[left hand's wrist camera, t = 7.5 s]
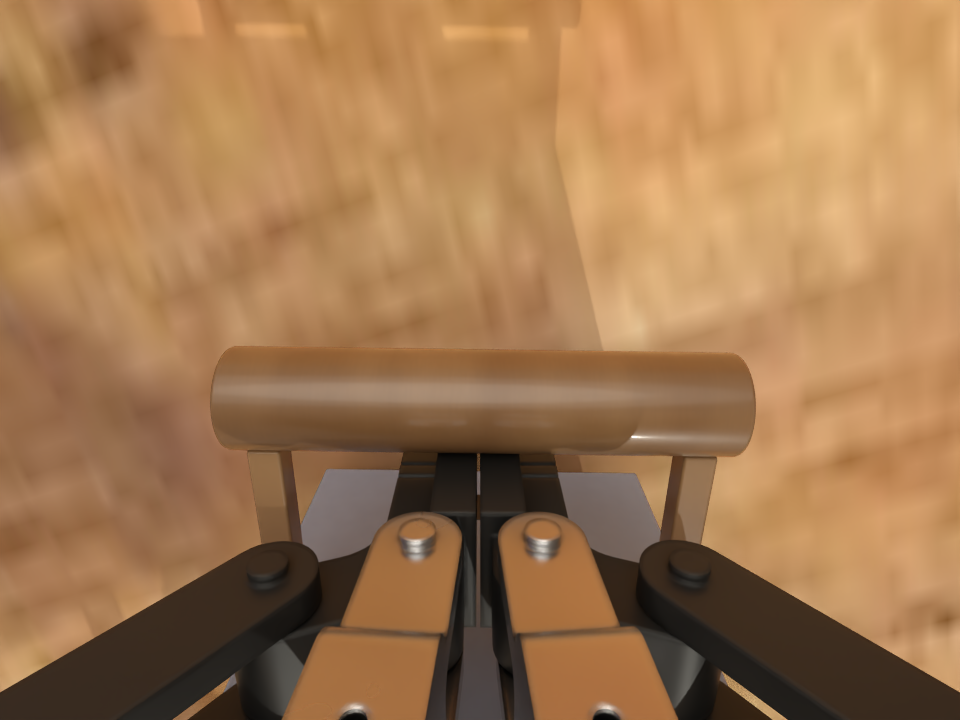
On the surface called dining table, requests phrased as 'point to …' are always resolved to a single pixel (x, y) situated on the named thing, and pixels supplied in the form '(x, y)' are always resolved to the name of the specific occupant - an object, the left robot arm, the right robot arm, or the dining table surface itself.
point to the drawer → (481, 440)
